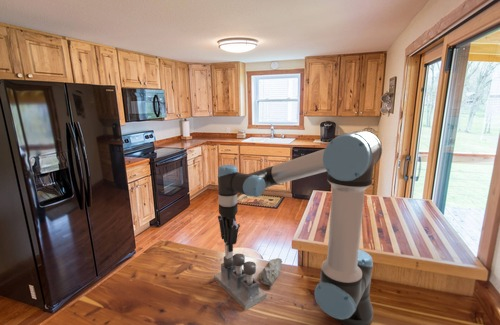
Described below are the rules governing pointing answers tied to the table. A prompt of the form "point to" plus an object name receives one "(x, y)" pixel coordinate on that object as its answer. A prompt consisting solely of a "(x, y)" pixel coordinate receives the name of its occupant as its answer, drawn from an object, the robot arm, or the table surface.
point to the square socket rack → (240, 287)
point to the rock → (271, 271)
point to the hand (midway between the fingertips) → (229, 257)
